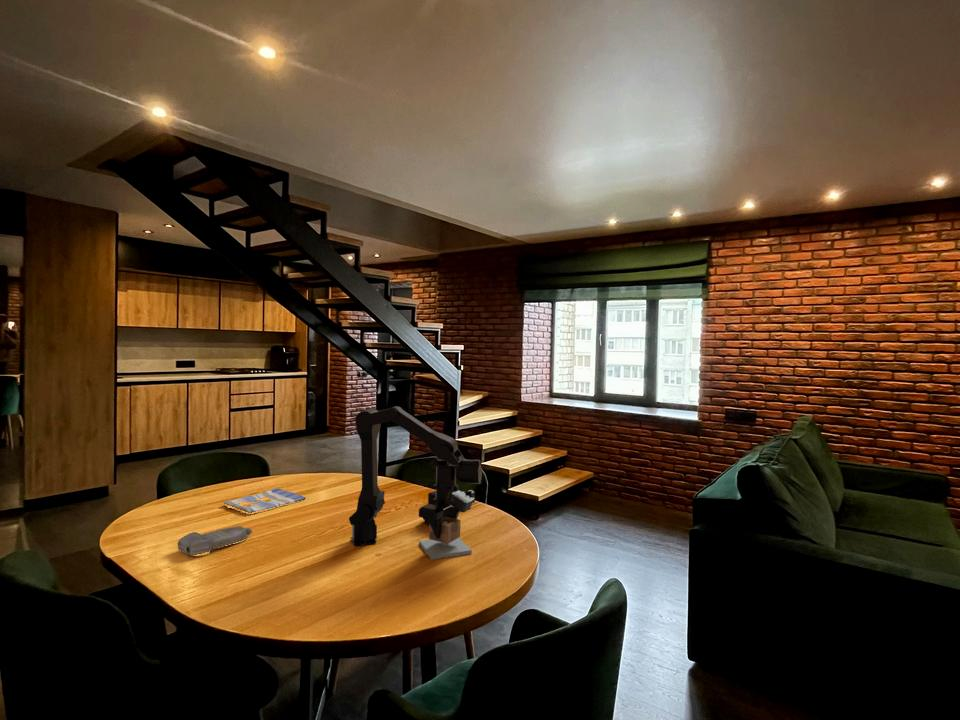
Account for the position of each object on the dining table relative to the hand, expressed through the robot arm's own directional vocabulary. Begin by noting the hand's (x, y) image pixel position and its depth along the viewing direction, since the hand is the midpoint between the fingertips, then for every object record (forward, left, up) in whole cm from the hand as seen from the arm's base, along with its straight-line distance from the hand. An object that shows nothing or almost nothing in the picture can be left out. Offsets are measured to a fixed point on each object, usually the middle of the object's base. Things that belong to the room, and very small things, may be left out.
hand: (444, 534), depth 149 cm
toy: (+6, +19, -4) cm, 20 cm away
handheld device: (-61, +26, -5) cm, 66 cm away
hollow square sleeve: (0, 0, -1) cm, 1 cm away
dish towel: (-48, +64, -5) cm, 80 cm away
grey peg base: (0, 0, -4) cm, 4 cm away
